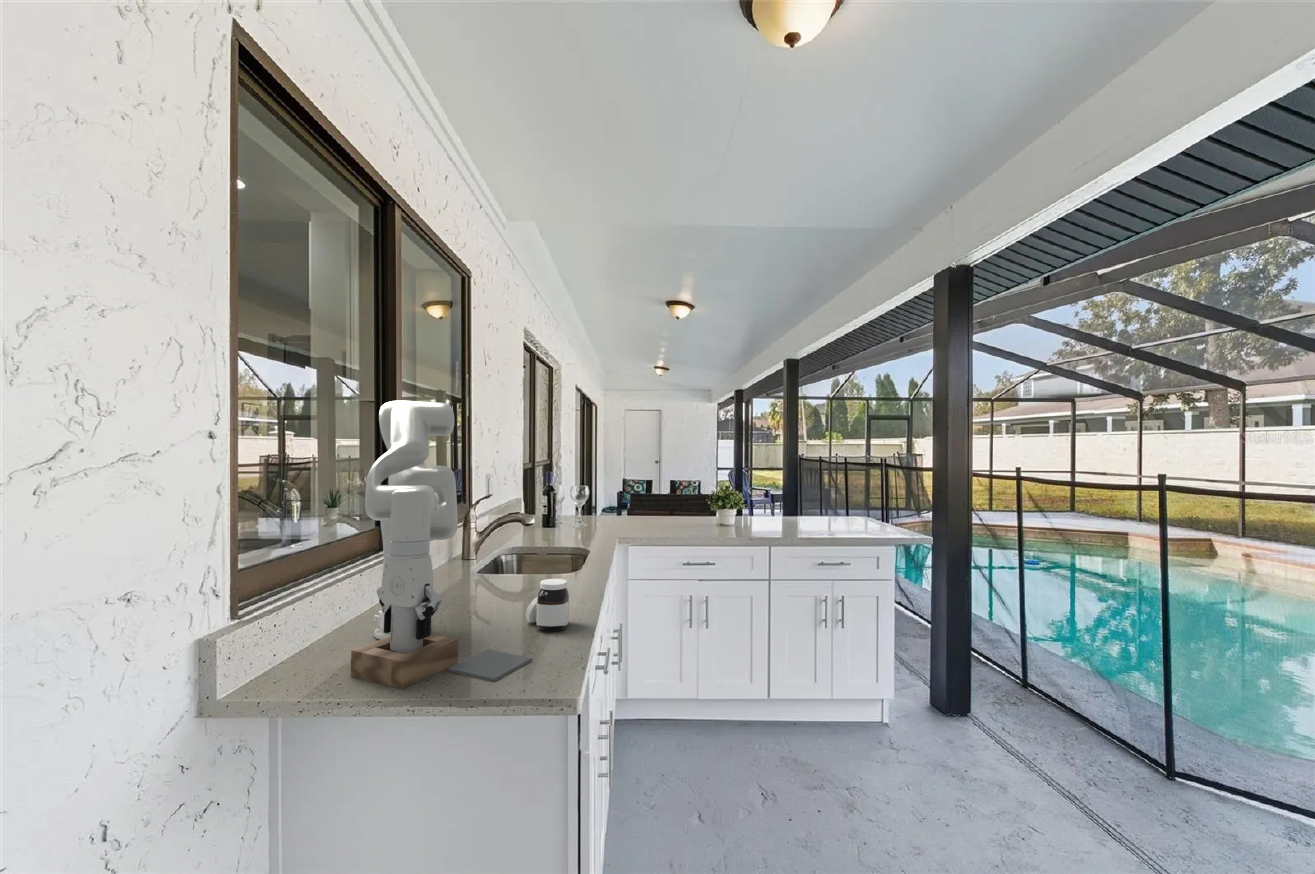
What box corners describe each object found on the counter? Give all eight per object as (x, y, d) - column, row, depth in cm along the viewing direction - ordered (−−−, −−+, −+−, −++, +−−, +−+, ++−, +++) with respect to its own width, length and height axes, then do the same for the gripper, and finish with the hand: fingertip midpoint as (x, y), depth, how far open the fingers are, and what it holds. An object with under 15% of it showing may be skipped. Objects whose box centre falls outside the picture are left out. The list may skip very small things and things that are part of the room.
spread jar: (564, 634, 134) (565, 586, 134) (518, 633, 134) (519, 585, 135) (572, 619, 146) (573, 575, 146) (530, 618, 146) (531, 575, 147)
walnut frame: (350, 675, 107) (351, 650, 107) (408, 652, 120) (409, 629, 120) (402, 689, 101) (403, 662, 102) (457, 663, 114) (458, 639, 114)
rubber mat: (447, 670, 110) (447, 667, 110) (487, 651, 121) (487, 649, 121) (494, 681, 105) (494, 678, 105) (531, 660, 116) (532, 657, 116)
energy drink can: (390, 665, 112) (393, 592, 113) (422, 662, 115) (424, 590, 115) (388, 677, 107) (390, 600, 107) (421, 673, 109) (423, 597, 109)
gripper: (363, 547, 111) (360, 633, 111) (427, 555, 105) (424, 647, 104) (394, 542, 118) (391, 623, 118) (455, 549, 111) (453, 635, 111)
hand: (406, 634), depth 111 cm, fingers open, 8 cm apart
